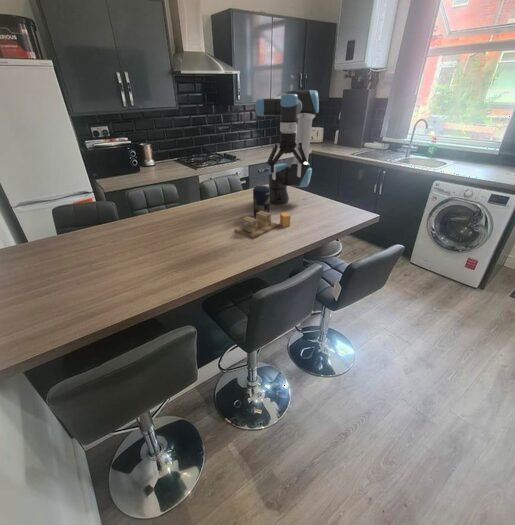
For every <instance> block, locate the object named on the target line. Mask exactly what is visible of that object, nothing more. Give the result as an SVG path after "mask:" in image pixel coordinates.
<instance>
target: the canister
mask: <svg viewBox="0 0 515 525" xmlns="http://www.w3.org/2000/svg"><path fill="white" fill-rule="evenodd" d="M252 194H253V195H252V198H253V199H252V200H253V216H254V217H255V218H256V213H257V212H259V211H263V212H267V213H270V214H271V212H270V210H271V203H270V188H269V186H266V185H258V186H255V187H253V189H252Z"/></svg>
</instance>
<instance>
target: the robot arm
mask: <svg viewBox="0 0 515 525" xmlns="http://www.w3.org/2000/svg"><path fill="white" fill-rule="evenodd" d="M319 100H320V98H319V92H318V91H317V90H315V89H314V90H313V89H308V90H305V89H303V90H294V89H293V90H287V91H284V92H281V93H279V94H277V95H275V96H272V97H268V98H264V97H262V98H257V99H256V100H255V105H254V109H255V110H254V111H255V114H256V116H258V117H280V122H279V127H280V128H279V131H280V132H279V144H278V143H273V145H272V150H271V153H270V155H269V157H268V159H267V162H266V164H267V165H268V166H269V168H268V187H269V188H270V205H284V204H288V203H289V201H290V196H289V194H288V189H287V187H296V188H297V187H298V188H306V187H308V186H309V184H310V181H311V178H312V174H313V173H312V172H313V168H312V167H311V164H310V163H309V157H310V156H309V155H310V154H309V153H310V146H311V135H312V125H313V120H314V118H316V114H318V113H319V112H320V110H319V109H320V107H319V106H320V103H319V102H320V101H319ZM278 149H279V150H278ZM277 151H278V152H277ZM284 154H293V161H292V162H291V163H290V166H288V164H287V163H285V162H284V163H277V162H278V161H279V160H280V158H281V157H282V156H283V155H284Z"/></svg>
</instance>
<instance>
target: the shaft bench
mask: <svg viewBox="0 0 515 525" xmlns="http://www.w3.org/2000/svg"><path fill="white" fill-rule="evenodd" d="M271 215H272V214H271V212H270V213H267V212H263V211H259V212H257V213H256V217H255V218H253V217H250V216H246V217H242V222H241V223H242V224H241V226H238V227H236V228H234V232H235V233H238V234H241V235H243V236H245V237H248V238H251V239H253V240H255V239H257V238H258V237H261V236H262V235H265V234H268V233H269V232H271V231H273V230H275V229H277V228H279V227H280V223H279V224H278V223H275V222H273V221H272V216H271Z"/></svg>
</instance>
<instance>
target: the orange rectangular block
mask: <svg viewBox="0 0 515 525" xmlns="http://www.w3.org/2000/svg"><path fill="white" fill-rule="evenodd" d="M279 225H280V226H282V227H283V228H284V227H285V228H286V227H291V215H290V213H289V212H282V213H281V212H280V213H279Z"/></svg>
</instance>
